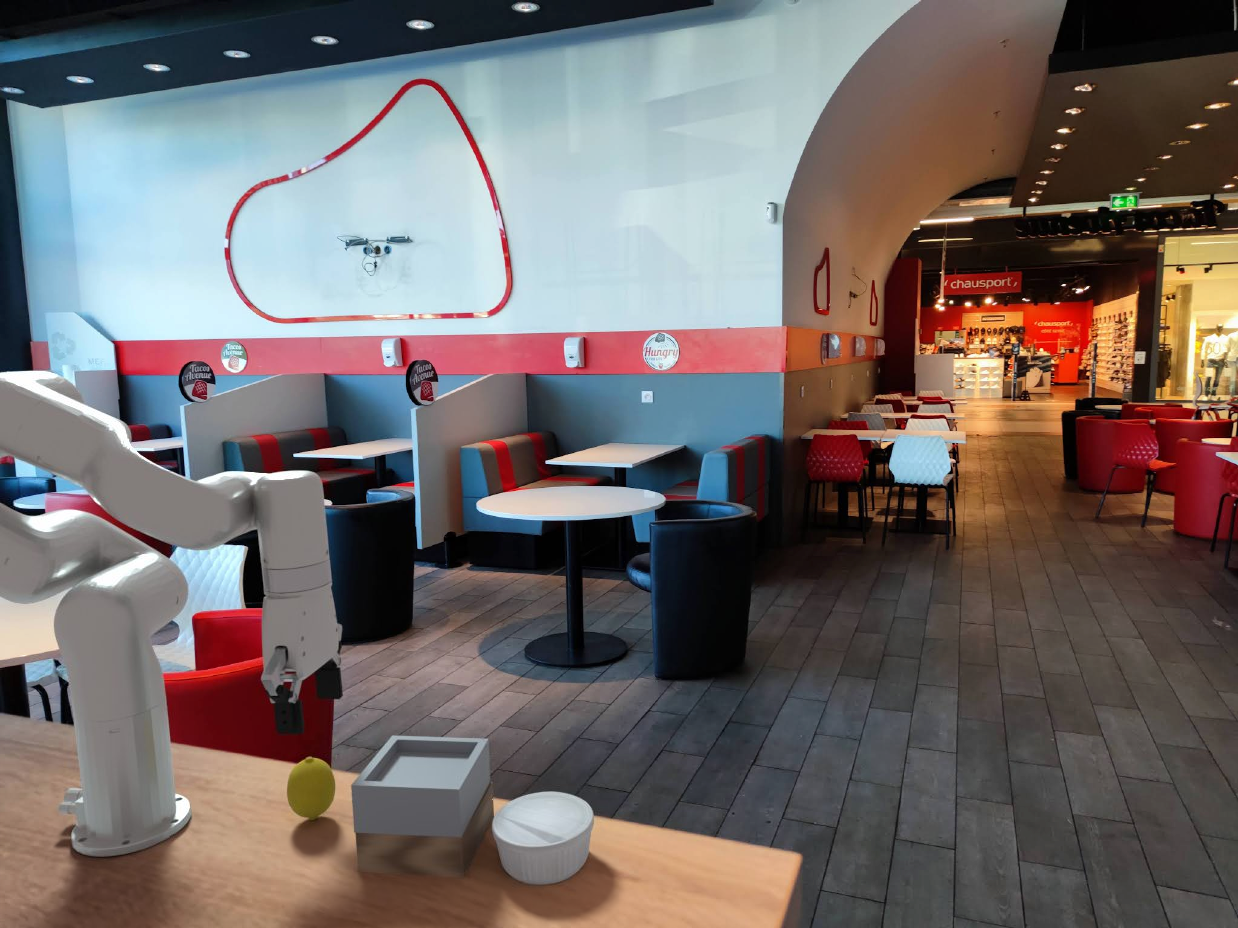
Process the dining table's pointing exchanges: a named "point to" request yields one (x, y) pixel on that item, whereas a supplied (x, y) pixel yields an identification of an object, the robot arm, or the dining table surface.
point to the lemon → (311, 788)
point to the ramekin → (543, 836)
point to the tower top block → (421, 786)
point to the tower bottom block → (426, 848)
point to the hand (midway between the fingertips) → (311, 714)
